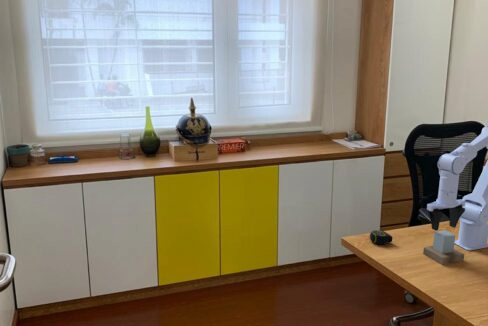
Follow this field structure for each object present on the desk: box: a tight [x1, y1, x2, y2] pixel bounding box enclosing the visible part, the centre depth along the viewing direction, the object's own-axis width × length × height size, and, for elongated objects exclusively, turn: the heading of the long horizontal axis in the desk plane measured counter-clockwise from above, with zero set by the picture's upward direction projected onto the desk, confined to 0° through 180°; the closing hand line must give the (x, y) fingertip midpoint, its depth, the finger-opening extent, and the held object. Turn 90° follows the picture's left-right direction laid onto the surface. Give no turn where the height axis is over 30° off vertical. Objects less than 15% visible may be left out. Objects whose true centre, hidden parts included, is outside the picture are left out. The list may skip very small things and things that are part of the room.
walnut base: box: [422, 245, 465, 266], centre depth 165 cm, size 9×9×3 cm
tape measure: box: [369, 229, 393, 245], centre depth 177 cm, size 7×7×4 cm
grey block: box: [432, 229, 456, 254], centre depth 165 cm, size 5×5×6 cm
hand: (443, 228), depth 166 cm, fingers open, 7 cm apart
